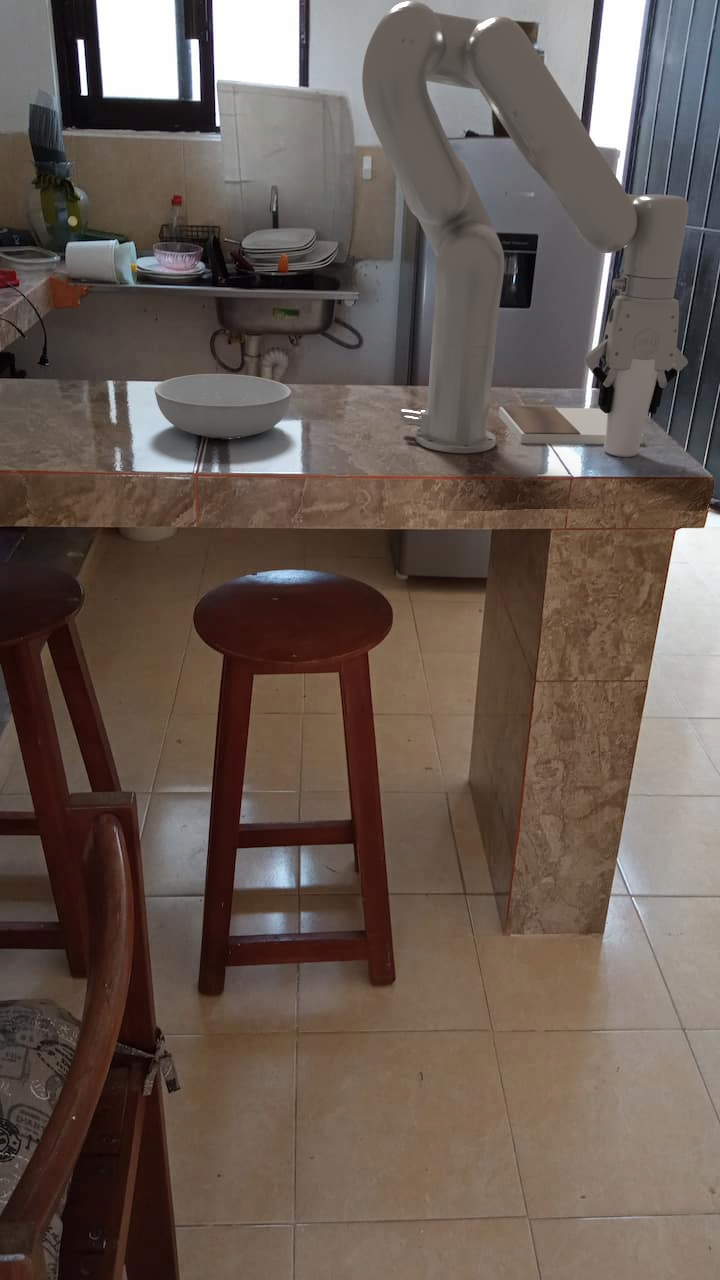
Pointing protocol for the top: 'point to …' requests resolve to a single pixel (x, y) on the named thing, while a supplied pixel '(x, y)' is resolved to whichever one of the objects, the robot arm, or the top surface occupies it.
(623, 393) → the drinking glass
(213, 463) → the top surface
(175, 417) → the serving bowl
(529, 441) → the board
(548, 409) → the brown rectangular panel
